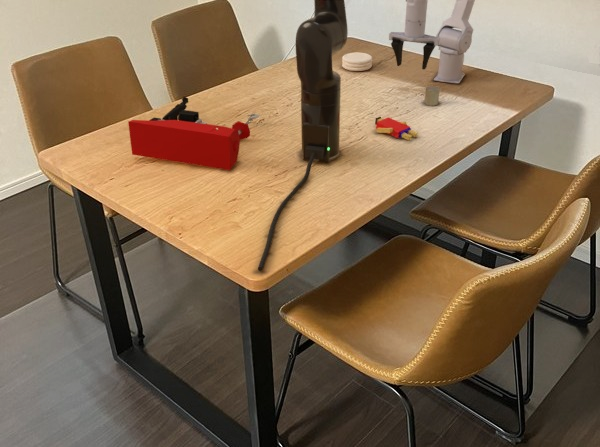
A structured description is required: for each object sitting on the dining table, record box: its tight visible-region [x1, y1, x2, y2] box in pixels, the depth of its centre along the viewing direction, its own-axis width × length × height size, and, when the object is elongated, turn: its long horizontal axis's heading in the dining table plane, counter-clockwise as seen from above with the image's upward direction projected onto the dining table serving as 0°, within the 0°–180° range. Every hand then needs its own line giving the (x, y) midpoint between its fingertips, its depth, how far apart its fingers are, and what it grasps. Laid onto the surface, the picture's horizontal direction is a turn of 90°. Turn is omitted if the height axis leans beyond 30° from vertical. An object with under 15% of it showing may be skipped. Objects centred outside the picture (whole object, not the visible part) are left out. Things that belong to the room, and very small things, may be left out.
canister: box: [423, 85, 441, 107], centre depth 179 cm, size 4×4×4 cm
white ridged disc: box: [341, 52, 373, 72], centre depth 207 cm, size 10×10×4 cm
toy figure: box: [374, 116, 418, 141], centre depth 162 cm, size 2×7×12 cm
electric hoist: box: [127, 96, 260, 171], centre depth 159 cm, size 10×27×30 cm
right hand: (411, 66), depth 183 cm, fingers open, 7 cm apart
